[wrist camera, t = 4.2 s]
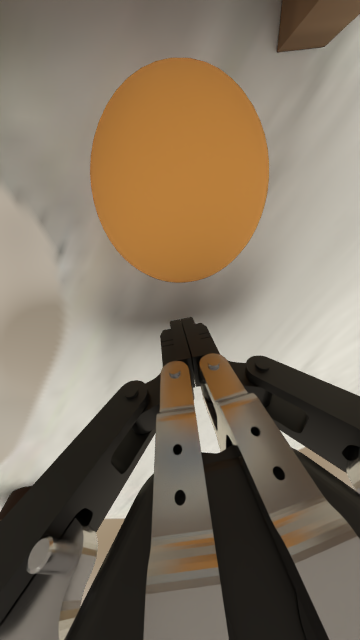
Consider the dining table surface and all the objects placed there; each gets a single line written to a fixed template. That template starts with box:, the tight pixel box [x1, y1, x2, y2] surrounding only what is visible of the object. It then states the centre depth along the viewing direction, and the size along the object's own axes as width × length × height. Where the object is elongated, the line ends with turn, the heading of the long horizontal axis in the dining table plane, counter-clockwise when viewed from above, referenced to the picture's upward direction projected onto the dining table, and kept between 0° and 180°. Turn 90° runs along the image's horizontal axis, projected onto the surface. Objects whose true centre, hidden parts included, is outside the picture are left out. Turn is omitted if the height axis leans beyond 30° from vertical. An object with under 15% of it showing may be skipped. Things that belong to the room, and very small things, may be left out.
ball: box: [90, 58, 269, 283], centre depth 7 cm, size 6×6×6 cm
